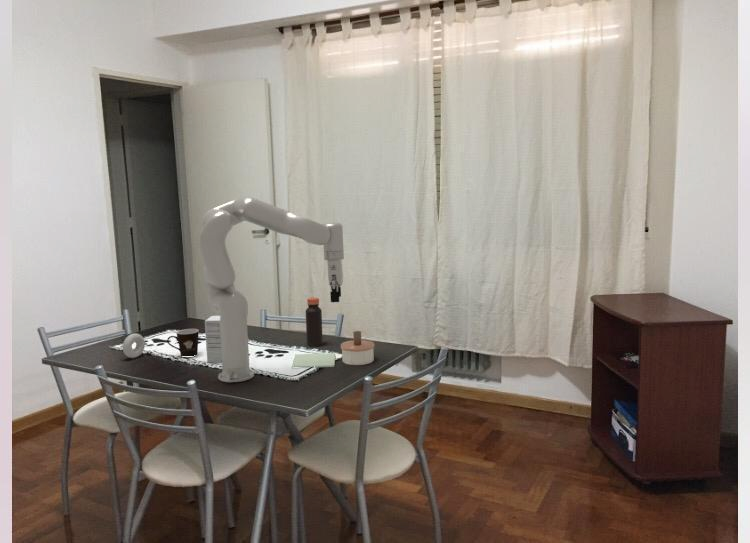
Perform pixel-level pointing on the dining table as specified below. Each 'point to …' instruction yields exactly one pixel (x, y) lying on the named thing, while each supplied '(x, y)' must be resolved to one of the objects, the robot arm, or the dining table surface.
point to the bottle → (314, 323)
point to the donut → (138, 349)
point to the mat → (314, 360)
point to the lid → (357, 343)
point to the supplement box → (213, 339)
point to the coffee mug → (187, 342)
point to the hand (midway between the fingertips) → (336, 299)
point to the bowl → (357, 357)
